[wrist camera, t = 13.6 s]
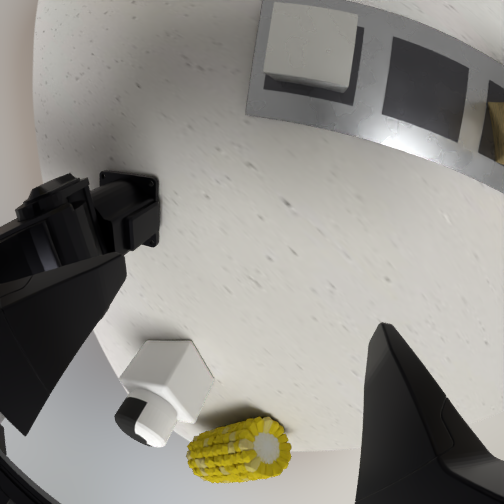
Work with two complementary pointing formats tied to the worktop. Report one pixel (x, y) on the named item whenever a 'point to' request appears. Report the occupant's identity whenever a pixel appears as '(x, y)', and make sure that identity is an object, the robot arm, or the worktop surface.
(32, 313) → the robot arm
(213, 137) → the worktop surface
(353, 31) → the zinc block
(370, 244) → the worktop surface
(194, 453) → the food
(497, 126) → the tan wooden block
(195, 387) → the medicine bottle
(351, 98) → the grey slotted plate
